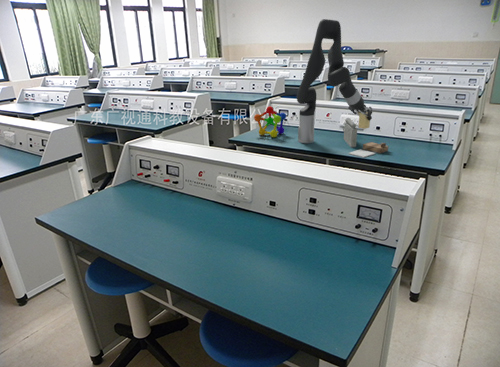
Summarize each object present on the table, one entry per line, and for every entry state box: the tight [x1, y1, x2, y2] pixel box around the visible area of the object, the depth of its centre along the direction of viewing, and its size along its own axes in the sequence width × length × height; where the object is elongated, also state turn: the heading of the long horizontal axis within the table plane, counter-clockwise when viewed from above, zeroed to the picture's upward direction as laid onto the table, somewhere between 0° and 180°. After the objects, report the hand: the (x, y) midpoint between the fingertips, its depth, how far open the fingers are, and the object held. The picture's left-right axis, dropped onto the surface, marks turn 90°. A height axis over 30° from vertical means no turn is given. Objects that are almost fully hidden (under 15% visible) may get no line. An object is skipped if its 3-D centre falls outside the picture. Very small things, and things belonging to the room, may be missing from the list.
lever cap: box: [358, 112, 371, 130], centre depth 194 cm, size 4×4×8 cm
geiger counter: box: [342, 117, 358, 148], centre depth 222 cm, size 14×6×25 cm
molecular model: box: [253, 105, 287, 138], centre depth 246 cm, size 21×15×20 cm
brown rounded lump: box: [362, 141, 389, 155], centre depth 205 cm, size 12×7×5 cm, turn 35°
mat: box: [348, 148, 376, 159], centre depth 200 cm, size 10×10×1 cm
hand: (366, 118), depth 194 cm, fingers closed on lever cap, 4 cm apart
